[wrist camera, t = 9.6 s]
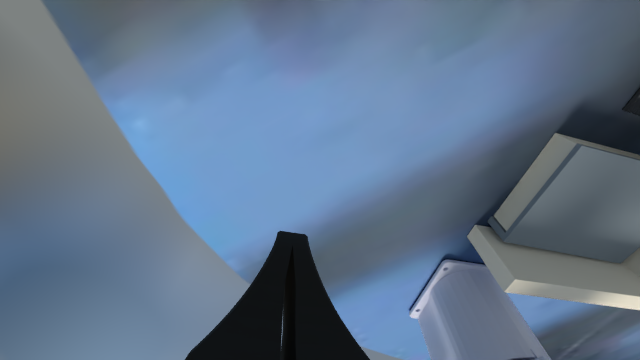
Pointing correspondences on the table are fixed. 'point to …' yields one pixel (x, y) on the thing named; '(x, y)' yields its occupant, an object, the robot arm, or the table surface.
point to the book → (576, 202)
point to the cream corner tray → (558, 272)
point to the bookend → (634, 104)
